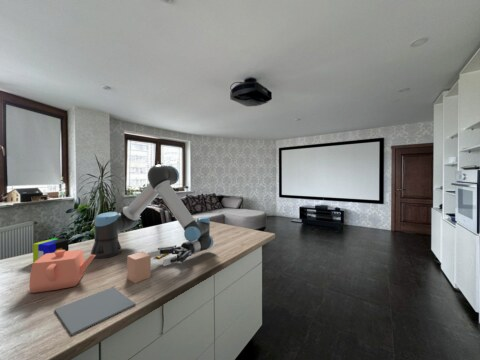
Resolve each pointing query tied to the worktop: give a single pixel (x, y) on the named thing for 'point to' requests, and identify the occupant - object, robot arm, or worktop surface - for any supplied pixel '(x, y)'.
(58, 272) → the teapot
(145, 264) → the block
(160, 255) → the candy bar
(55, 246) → the puzzle toy
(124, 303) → the mat
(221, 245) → the worktop surface
